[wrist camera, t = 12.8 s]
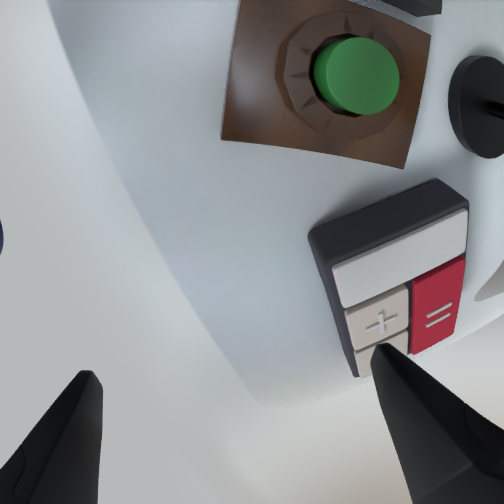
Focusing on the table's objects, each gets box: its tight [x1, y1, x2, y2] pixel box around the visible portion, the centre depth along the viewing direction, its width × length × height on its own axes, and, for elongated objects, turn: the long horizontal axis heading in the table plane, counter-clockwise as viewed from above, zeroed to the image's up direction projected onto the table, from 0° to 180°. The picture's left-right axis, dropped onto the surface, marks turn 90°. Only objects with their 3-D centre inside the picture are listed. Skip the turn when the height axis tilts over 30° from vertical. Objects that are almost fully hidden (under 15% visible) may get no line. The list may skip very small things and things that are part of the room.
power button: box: [314, 37, 399, 115], centre depth 12 cm, size 4×4×2 cm
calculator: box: [308, 179, 469, 378], centre depth 22 cm, size 11×4×15 cm
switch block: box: [220, 0, 431, 169], centre depth 14 cm, size 11×9×4 cm
